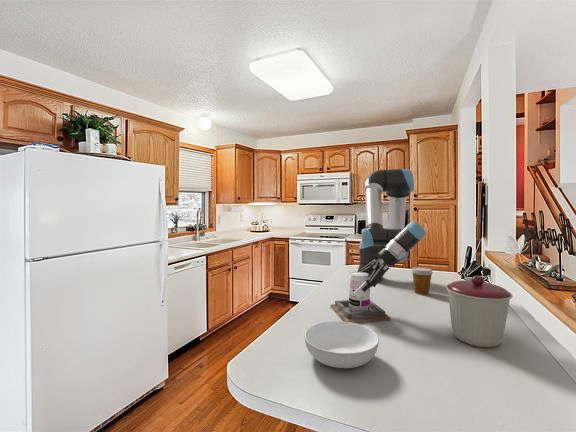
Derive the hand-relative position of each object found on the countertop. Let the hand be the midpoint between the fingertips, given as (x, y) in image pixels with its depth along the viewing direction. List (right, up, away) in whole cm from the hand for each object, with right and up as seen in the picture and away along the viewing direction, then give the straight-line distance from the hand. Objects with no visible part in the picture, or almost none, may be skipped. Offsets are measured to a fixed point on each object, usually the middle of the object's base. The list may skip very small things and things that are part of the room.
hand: (353, 290), depth 121 cm
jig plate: (+2, -9, 0) cm, 9 cm away
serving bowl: (-11, -11, -34) cm, 38 cm away
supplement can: (+3, -8, 0) cm, 9 cm away
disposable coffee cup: (+40, -8, +27) cm, 48 cm away
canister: (+35, -10, -24) cm, 43 cm away
